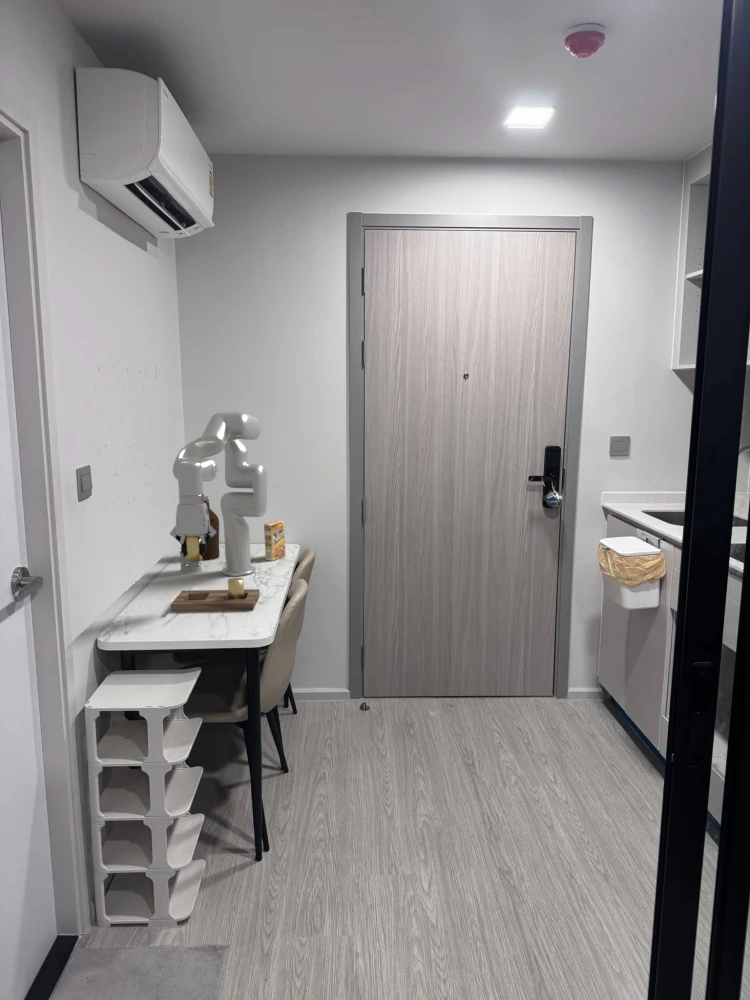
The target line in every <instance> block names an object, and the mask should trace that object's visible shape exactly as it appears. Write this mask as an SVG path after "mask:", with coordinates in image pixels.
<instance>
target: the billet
mask: <svg viewBox="0 0 750 1000" xmlns="http://www.w3.org/2000/svg"><path fill="white" fill-rule="evenodd" d="M185 540H186V558H187V561H186V563H188V562H199V563H200V561H201V562H202V561H204V560H203V558H202V556H201V549H200V544H201V539H200V536H199V535H188V536H186V537H185Z"/></svg>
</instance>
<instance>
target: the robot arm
mask: <svg viewBox="0 0 750 1000" xmlns="http://www.w3.org/2000/svg"><path fill="white" fill-rule="evenodd" d="M261 428H262V427H261V424H260V421H259V419H258V418H257V417H255V416H252V415H251V414H248V413H245V412H216V413H214V414H213V415H212V416H211V417H210V419H209V421H208V423H207V424H206V427H205V429H204V431H203V432H202V435H201V436H200V437H198V438H196V439H195V440H192V441H190V442H189V443H188V444H186V445H184V446H183V447H182V448H181V449H180V450H179V452H178V454H177V456H175V459H174V462H173V465H172V473H173V477H174V478H175V479H176V480H177V481H178V483H177V485H178V502H179V503H178V504H177V506H176V514H175V516H176V517H175V526H174V527H173V528H172V529H171V530H170V532H169V535H170V536H171V537H173V538H175V540H177V542H179V544H180V545H181V547H180V548H181V549H180V551H181V550H182V553H183V556H186V540H185V537H186V536H187V535H199V536H200V539H201V544H200V549H201V556H204V555H205V553H206V552H207V548H206V542H207V541H208V540H209V539H210V538H211V537H212V536H214V535H215V534H216V531H215V530H214V529H213V527H212V526H211V525H210V521H209V513H208V508H207V504H206V503H204V501H206V500H208V499H209V496H206V495H205V494H204V483H203V482H211V481H213V480H214V479H215V478H216V477H217V476H218V471H219V468H218V464H217V462H216V461H215V460H213V459H212V458H209V457H212V456H214V455H218V454H220V453H221V452H222V451H223V450H224V482H225V484H226V486H227V487H229V488H231V489H252V490H253V491H228V492H226V493H224V494H223V495H222V496H221V498H220V504H219V505H220V511H221V513H222V519H223V533H224V534H223V535H224V553H225V554H224V555H225V567H223V568H222V569H221V573H222V574H223V575H225V576H230V577H241V576H247V575H251V574H253V573H254V572H255V571H256V568H255V566H253V565H252V561H251V539H250V536H251V535H250V526H249V524H248V522H247V520H246V519H245V518H246V517H247V518H261V517H263V516H264V515H266V511H267V507H268V505H267V504H268V474H267V469H266V468H265V466H264V465H262V464H259V463H249V461H248V460H249V459H248V457H249V456H248V449H247V447H246V445H245V444H244V443H243V441H254V440H257V439H258V438H259V437H260V435H261V431H262V430H261ZM209 531H210V534H209V535H208V536H207V537H206V535H205V534H207V532H209Z"/></svg>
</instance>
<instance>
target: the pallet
mask: <svg viewBox="0 0 750 1000" xmlns="http://www.w3.org/2000/svg"><path fill="white" fill-rule="evenodd" d="M259 598H260V588H259V589H258V588H256V589H254V588H253V589H244V599H237V600H229V594H228V589H197V590H192V589H191V590H181V591H180V593H179V594H178V595H177V596H176V597H175V599H174V600H173V601H172V602H171V603H170V611H171V613H174V612H175V613H177V612H183V613H184V612H185V613H186V612H187V613H188V612H234V611H236V612H238V611H243V612H245V611H254V610H255V607H256V606H257V604H258V601H259Z"/></svg>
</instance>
